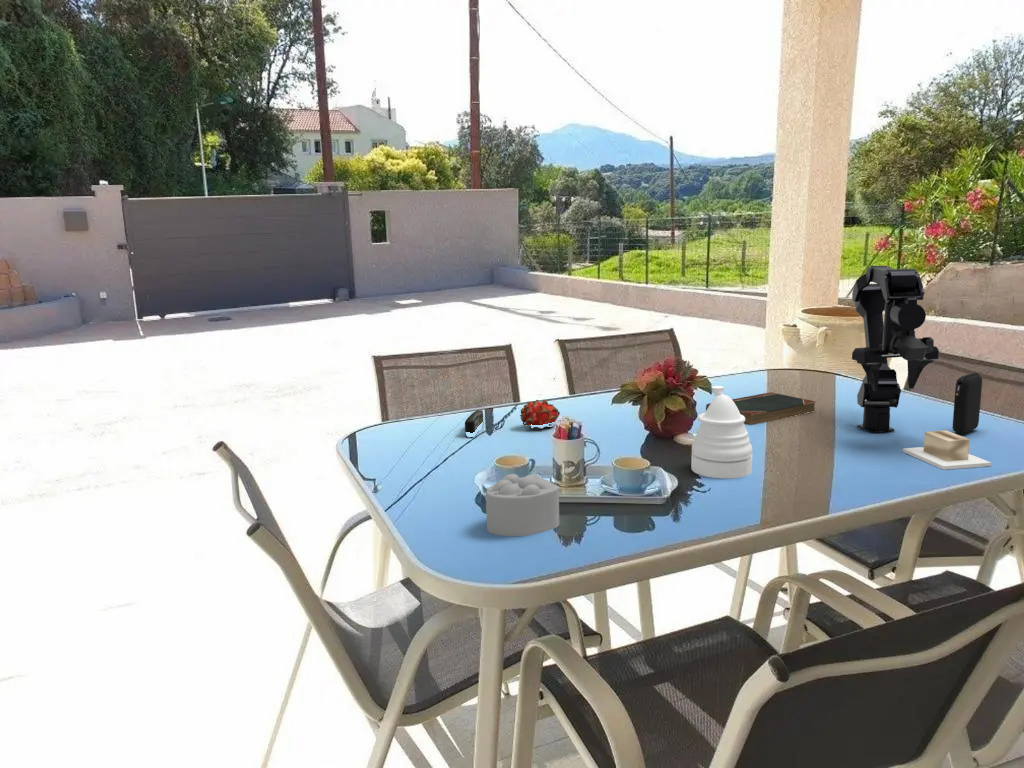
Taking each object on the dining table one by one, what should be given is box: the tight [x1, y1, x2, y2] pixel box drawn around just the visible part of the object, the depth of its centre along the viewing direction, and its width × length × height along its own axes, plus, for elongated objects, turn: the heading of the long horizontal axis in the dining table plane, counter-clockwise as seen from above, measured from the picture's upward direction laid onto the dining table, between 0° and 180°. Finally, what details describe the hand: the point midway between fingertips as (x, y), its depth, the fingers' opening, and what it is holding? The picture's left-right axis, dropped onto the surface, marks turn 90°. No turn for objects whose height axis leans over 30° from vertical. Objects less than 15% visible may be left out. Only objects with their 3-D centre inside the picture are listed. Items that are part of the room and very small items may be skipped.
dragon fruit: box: [519, 399, 561, 426], centre depth 214 cm, size 8×8×12 cm
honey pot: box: [690, 385, 753, 479], centre depth 173 cm, size 13×13×18 cm
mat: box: [902, 446, 992, 471], centre depth 177 cm, size 14×11×1 cm
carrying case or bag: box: [952, 372, 983, 436], centre depth 195 cm, size 11×3×15 cm, turn 127°
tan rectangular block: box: [923, 429, 971, 461], centre depth 176 cm, size 5×8×5 cm, turn 8°
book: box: [705, 392, 817, 426], centre depth 224 cm, size 17×4×25 cm
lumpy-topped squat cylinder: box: [485, 473, 560, 537], centre depth 145 cm, size 10×13×9 cm
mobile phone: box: [464, 409, 484, 433], centre depth 214 cm, size 5×3×15 cm
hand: (893, 389), depth 188 cm, fingers open, 9 cm apart
